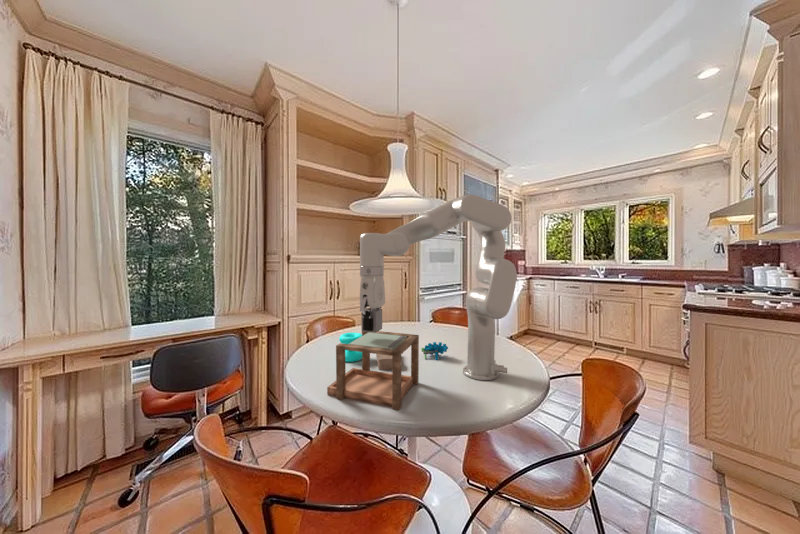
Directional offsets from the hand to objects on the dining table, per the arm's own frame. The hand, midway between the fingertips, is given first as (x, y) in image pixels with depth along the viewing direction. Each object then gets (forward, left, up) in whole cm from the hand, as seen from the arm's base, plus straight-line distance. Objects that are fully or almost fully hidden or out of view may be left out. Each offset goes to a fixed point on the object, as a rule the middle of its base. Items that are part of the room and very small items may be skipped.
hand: (372, 327), depth 102 cm
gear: (-12, -36, -21) cm, 43 cm away
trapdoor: (-2, 0, -5) cm, 5 cm away
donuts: (+20, -23, -21) cm, 37 cm away
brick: (+4, -25, -21) cm, 33 cm away
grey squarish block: (0, 0, -1) cm, 1 cm away
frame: (-1, 0, -20) cm, 20 cm away
